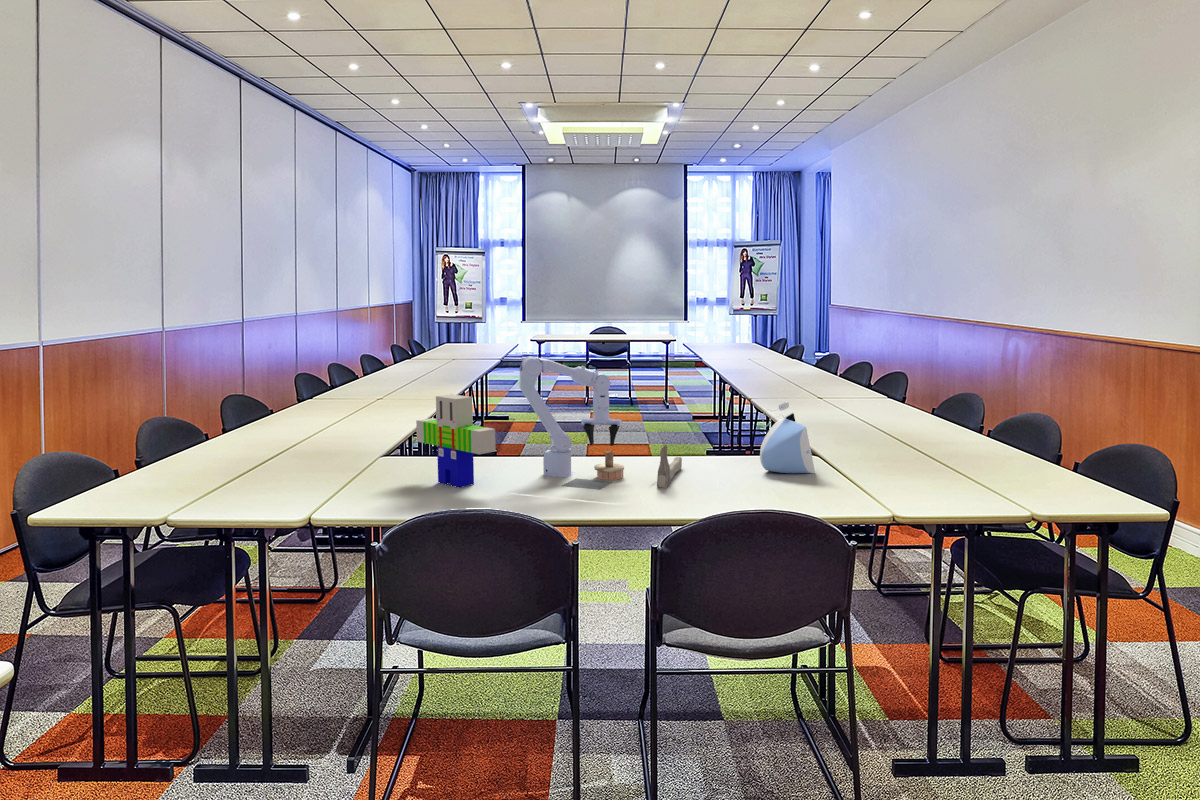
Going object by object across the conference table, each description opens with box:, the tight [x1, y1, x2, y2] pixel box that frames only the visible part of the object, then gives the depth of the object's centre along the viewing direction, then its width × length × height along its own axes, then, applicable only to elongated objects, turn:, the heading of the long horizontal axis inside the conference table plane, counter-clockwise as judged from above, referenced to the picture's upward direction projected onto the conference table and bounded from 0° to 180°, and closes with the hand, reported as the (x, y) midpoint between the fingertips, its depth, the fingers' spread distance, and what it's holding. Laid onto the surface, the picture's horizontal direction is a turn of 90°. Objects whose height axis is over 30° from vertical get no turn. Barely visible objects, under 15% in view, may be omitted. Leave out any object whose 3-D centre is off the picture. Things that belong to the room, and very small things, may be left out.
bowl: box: [596, 470, 624, 481], centre depth 315 cm, size 9×9×4 cm
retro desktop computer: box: [759, 400, 816, 474], centre depth 326 cm, size 25×23×17 cm
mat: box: [561, 478, 614, 490], centre depth 305 cm, size 14×12×1 cm
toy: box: [415, 393, 496, 488], centre depth 306 cm, size 34×7×30 cm, turn 47°
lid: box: [594, 451, 625, 472], centre depth 314 cm, size 10×10×6 cm
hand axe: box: [656, 444, 683, 489], centre depth 315 cm, size 35×3×14 cm, turn 165°
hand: (601, 444), depth 322 cm, fingers open, 7 cm apart
